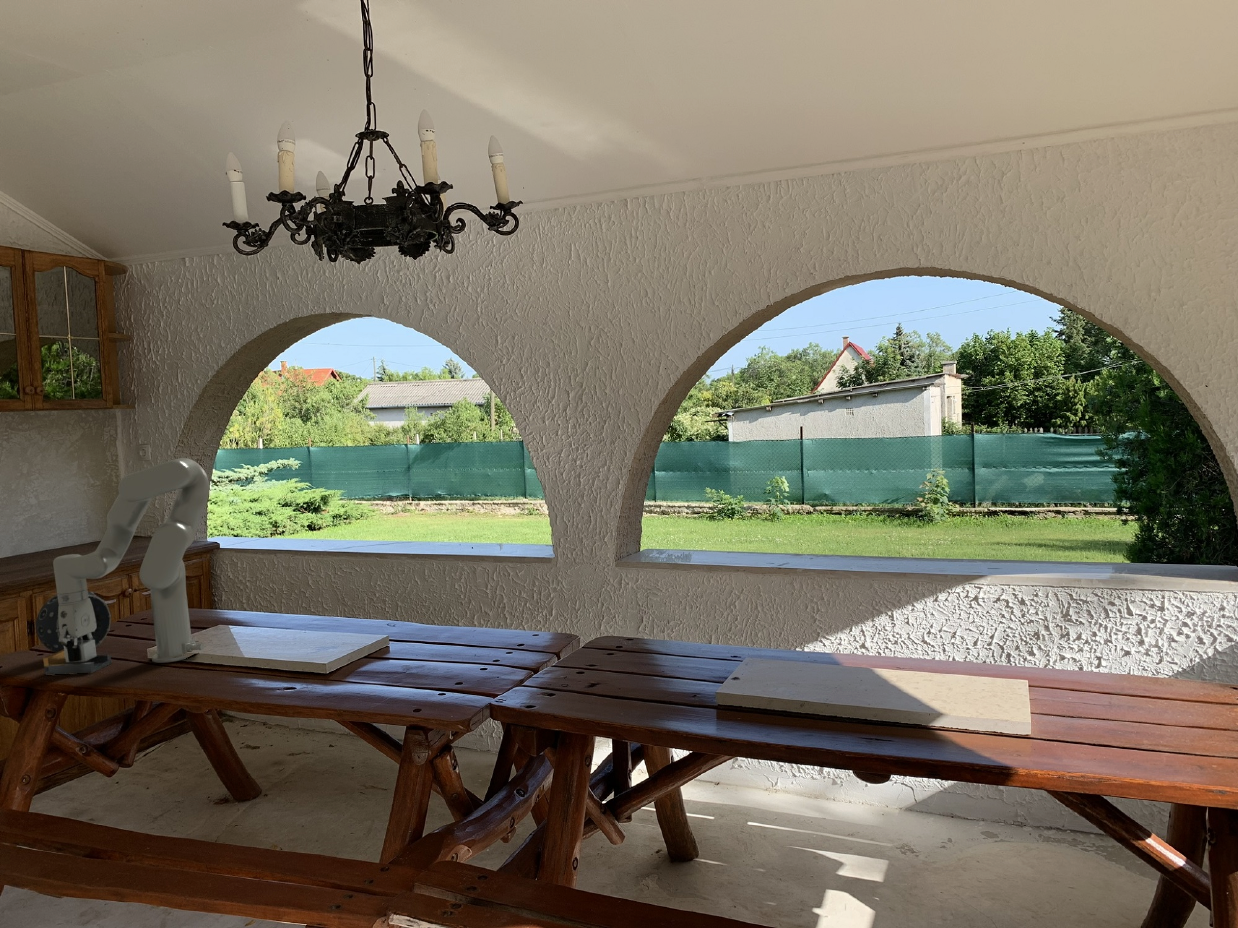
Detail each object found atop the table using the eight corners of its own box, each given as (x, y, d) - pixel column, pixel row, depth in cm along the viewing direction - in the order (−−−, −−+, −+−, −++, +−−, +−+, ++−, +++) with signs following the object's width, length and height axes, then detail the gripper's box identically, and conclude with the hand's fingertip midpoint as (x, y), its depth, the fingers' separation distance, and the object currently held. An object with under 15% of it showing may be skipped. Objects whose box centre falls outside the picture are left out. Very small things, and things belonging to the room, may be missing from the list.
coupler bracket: (111, 663, 266) (109, 646, 266) (91, 673, 257) (89, 655, 257) (66, 665, 268) (64, 648, 267) (45, 675, 259) (43, 658, 258)
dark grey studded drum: (119, 645, 288) (111, 584, 286) (57, 664, 270) (49, 599, 268) (97, 643, 293) (89, 583, 291) (35, 662, 275) (26, 598, 273)
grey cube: (96, 656, 264) (94, 639, 264) (85, 661, 259) (83, 644, 259) (75, 657, 265) (73, 640, 265) (63, 662, 260) (61, 645, 260)
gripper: (65, 603, 252) (73, 666, 253) (104, 589, 269) (112, 648, 270) (40, 605, 252) (48, 668, 254) (80, 591, 269) (88, 650, 271)
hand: (81, 657), depth 262 cm, fingers closed on grey cube, 5 cm apart
